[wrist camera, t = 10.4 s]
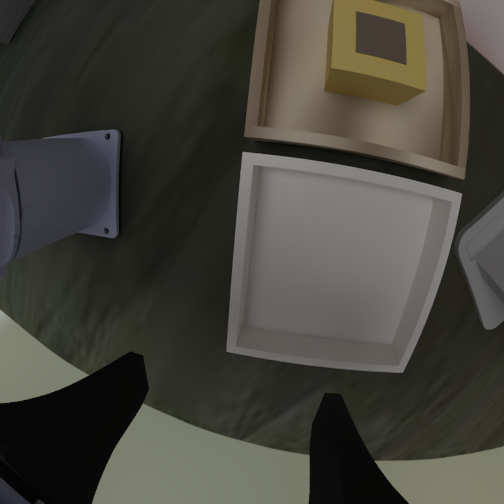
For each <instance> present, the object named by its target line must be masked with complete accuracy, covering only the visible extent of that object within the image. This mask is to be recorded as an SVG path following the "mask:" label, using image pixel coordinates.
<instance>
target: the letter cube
mask: <svg viewBox="0 0 504 504" xmlns="http://www.w3.org/2000/svg"><path fill="white" fill-rule="evenodd" d="M324 91H328V92H334V93H340V94H346V95H351V96H356V97H361V98H366V99H370V100H375V101H379V102H383V103H387V104H391V105H395V106H398V105H400V104H402V103H404V102H406V101H408V100H410V99H412V98H413V97H415V96H417V95H419V94H421V93H423V92H425V91H426V52H425V36H424V25H423V16H422V15H420V14H418V13H415V12H412V11H409V10H406V9H402V8H399V7H396V6H392V5H389V4H385V3H382V2H378V1H374V0H333V1H332V7H331V13H330V18H329V24H328V35H327V54H326V70H325V83H324Z"/></svg>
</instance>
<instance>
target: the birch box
mask: <svg viewBox="0 0 504 504" xmlns="http://www.w3.org/2000/svg"><path fill="white" fill-rule="evenodd" d="M332 1H333V0H260V4H259V11H258V19H257V27H256V35H255V44H254V52H253V60H252V69H251V78H250V87H249V96H248V105H247V115H246V124H245V134H244V137H246V138H249V139H252V140H255V141H265V142H275V143H284V144H292V145H300V146H307V147H314V148H320V149H327V150H333V151H339V152H344V153H350V154H355V155H360V156H365V157H370V158H375V159H379V160H384V161H388V162H393V163H397V164H401V165H405V166H409V167H413V168H417V169H420V170H424V171H428V172H431V173H435V174H438V175H442V176H447V177H453V178H458V179H463V180H464V178H465V170H466V162H467V152H468V140H469V122H470V82H469V64H468V53H467V44H466V36H465V30H464V23H463V17H462V12H461V7H460V3H459V2H458V1H456V0H374V1H378V2H382V3H385V4H389V5H392V6H396V7H399V8H402V9H406V10H409V11H412V12H415V13H418V14H420V15H422V16H423V25H424V36H425V52H426V91H425V92H423V93H421V94H419V95H417V96H415V97H413V98H412V99H410V100H408V101H406V102H404V103H402V104H400V105H398V106H395V105H391V104H387V103H383V102H379V101H375V100H370V99H366V98H361V97H356V96H351V95H346V94H340V93H334V92H328V91H324V83H325V70H326V54H327V35H328V24H329V18H330V13H331V7H332Z"/></svg>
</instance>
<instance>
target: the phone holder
mask: <svg viewBox="0 0 504 504" xmlns="http://www.w3.org/2000/svg"><path fill="white" fill-rule="evenodd" d="M454 250H455V254H456V257H457V259H458V261H459V264H460V266H461V269H462V271H463V274H464V276H465V279H466V281H467V284H468V287H469V289H470V292H471V295H472V298H473V301H474V304H475V307H476V310H477V313H478V316H479V319H480V322H481V323H482V325H483V326H484V327H485V328H486V329H493V328H495V327H497V326H498V325H499V324H500V323H501V322H503V321H504V191H503V192H502V193H501V194H500V195H499V196H498V197H497V198H495V199H494V200H493V201H492V202H491V203H490V204H489V205H488V206H487V207H486V208H485V209H484V210H483V211H481V212H480V213H479V214H478V215H477V216H476V217H475V218H474V219H473V220H471V221H470V222H469V223H468V224H467V225H466V226H464V227H463V228H462V229H461V230H460V231H459V233H458V235H457V237H456V240H455V245H454Z"/></svg>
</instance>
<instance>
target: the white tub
mask: <svg viewBox="0 0 504 504" xmlns="http://www.w3.org/2000/svg"><path fill="white" fill-rule="evenodd" d="M461 197H462V194H461V193H458V192H455V191H451V190H448V189H444V188H441V187H437V186H434V185H430V184H426V183H422V182H418V181H414V180H410V179H406V178H402V177H398V176H393V175H389V174H384V173H380V172H375V171H370V170H365V169H360V168H355V167H350V166H344V165H338V164H332V163H326V162H320V161H313V160H307V159H300V158H292V157H284V156H276V155H267V154H257V153H247V152H243V154H242V164H241V175H240V185H239V196H238V207H237V219H236V230H235V242H234V254H233V267H232V280H231V293H230V307H229V321H228V335H227V350H226V352H231V353H236V354H241V355H247V356H252V357H258V358H264V359H270V360H276V361H282V362H289V363H296V364H303V365H311V366H320V367H328V368H338V369H349V370H361V371H376V372H397V373H403V371H404V369H405V367H406V365H407V363H408V361H409V359H410V357H411V355H412V352H413V350H414V348H415V346H416V344H417V341H418V339H419V337H420V335H421V332H422V330H423V327H424V325H425V322H426V320H427V317H428V315H429V312H430V310H431V307H432V304H433V302H434V299H435V296H436V293H437V290H438V287H439V284H440V281H441V278H442V275H443V272H444V268H445V265H446V262H447V258H448V254H449V251H450V247H451V243H452V239H453V235H454V231H455V227H456V222H457V217H458V213H459V208H460V202H461Z"/></svg>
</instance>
